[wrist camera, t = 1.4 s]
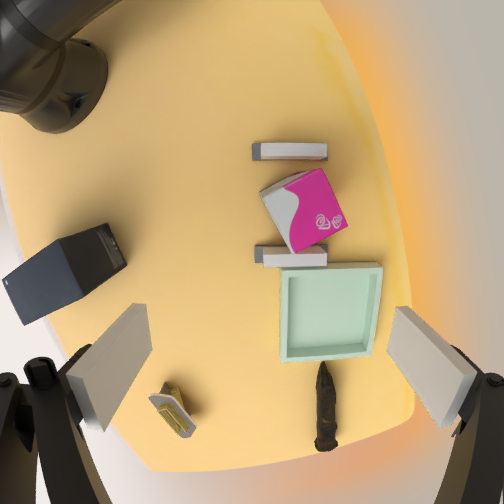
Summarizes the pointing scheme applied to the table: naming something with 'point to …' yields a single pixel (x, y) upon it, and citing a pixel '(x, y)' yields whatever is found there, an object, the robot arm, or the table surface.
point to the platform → (173, 411)
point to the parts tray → (328, 311)
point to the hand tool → (325, 411)
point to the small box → (63, 273)
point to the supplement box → (304, 209)
